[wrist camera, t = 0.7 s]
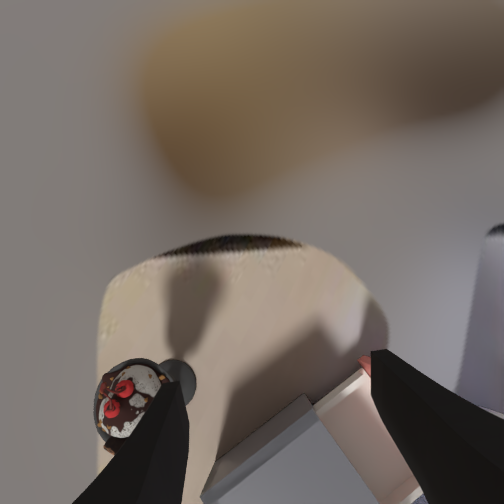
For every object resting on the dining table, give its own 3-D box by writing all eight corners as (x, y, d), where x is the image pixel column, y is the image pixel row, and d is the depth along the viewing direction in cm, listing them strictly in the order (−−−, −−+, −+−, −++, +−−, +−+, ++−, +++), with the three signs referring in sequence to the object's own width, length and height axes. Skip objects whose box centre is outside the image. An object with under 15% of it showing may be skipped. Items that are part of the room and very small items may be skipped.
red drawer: (447, 464, 33) (482, 490, 27) (357, 539, 32) (375, 581, 26) (363, 355, 35) (379, 359, 30) (277, 422, 34) (278, 439, 29)
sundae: (173, 337, 37) (109, 341, 23) (217, 384, 36) (180, 420, 22) (127, 384, 37) (31, 420, 22) (171, 434, 35) (100, 506, 21)
